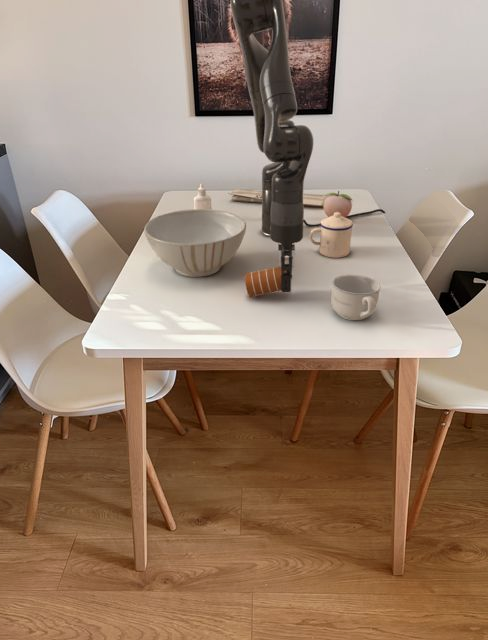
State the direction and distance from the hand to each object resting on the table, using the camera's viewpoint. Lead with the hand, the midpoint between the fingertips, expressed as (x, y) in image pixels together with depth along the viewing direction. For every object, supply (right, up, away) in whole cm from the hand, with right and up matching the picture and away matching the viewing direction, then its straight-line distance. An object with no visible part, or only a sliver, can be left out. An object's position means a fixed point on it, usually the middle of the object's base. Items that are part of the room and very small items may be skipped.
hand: (285, 285), depth 136 cm
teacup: (+15, -8, -7) cm, 19 cm away
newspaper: (+2, +38, +66) cm, 76 cm away
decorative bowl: (-23, +7, +18) cm, 30 cm away
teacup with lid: (+14, +12, +26) cm, 32 cm away
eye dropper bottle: (-24, +27, +50) cm, 62 cm away
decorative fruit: (+20, +26, +48) cm, 58 cm away
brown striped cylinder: (-4, -2, +1) cm, 4 cm away
